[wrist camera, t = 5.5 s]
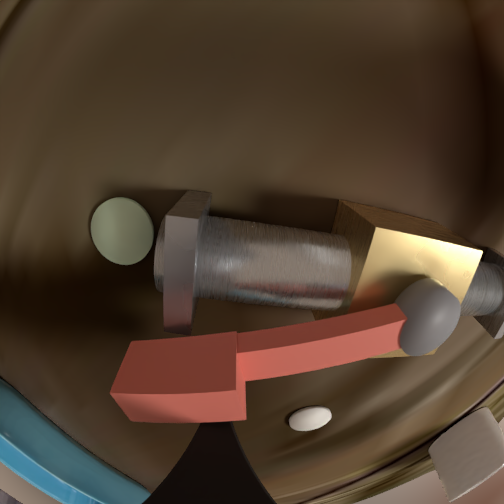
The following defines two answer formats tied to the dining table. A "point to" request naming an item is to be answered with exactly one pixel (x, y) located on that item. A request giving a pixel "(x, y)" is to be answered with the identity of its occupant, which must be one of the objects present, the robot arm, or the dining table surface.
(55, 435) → the casserole dish
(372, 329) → the lever
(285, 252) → the valve body
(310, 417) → the white flattened pebble
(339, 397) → the dining table surface
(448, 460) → the toilet tissue
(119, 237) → the pale green round disc
